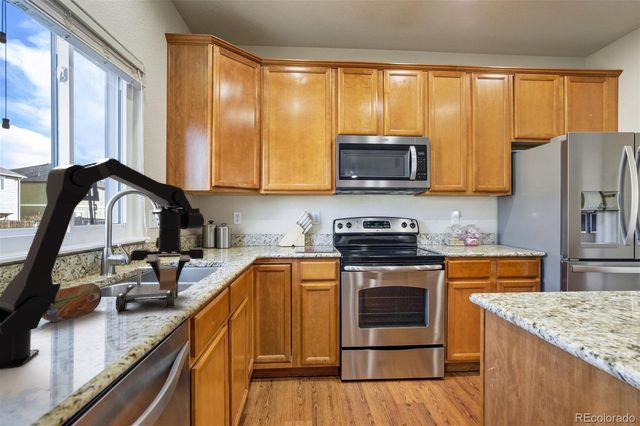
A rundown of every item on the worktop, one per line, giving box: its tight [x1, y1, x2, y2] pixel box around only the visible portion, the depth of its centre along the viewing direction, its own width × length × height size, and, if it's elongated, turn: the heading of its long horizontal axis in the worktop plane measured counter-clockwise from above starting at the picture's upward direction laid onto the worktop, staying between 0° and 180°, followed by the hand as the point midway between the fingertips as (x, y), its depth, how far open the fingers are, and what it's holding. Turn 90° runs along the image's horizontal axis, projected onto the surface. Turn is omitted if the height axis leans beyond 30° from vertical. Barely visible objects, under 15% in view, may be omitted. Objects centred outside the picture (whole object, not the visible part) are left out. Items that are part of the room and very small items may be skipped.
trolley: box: [115, 265, 179, 312], centre depth 98 cm, size 17×15×11 cm
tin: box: [41, 282, 102, 323], centre depth 84 cm, size 15×3×8 cm, turn 163°
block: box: [160, 266, 178, 290], centre depth 89 cm, size 5×4×6 cm
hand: (168, 283), depth 89 cm, fingers closed on block, 4 cm apart
